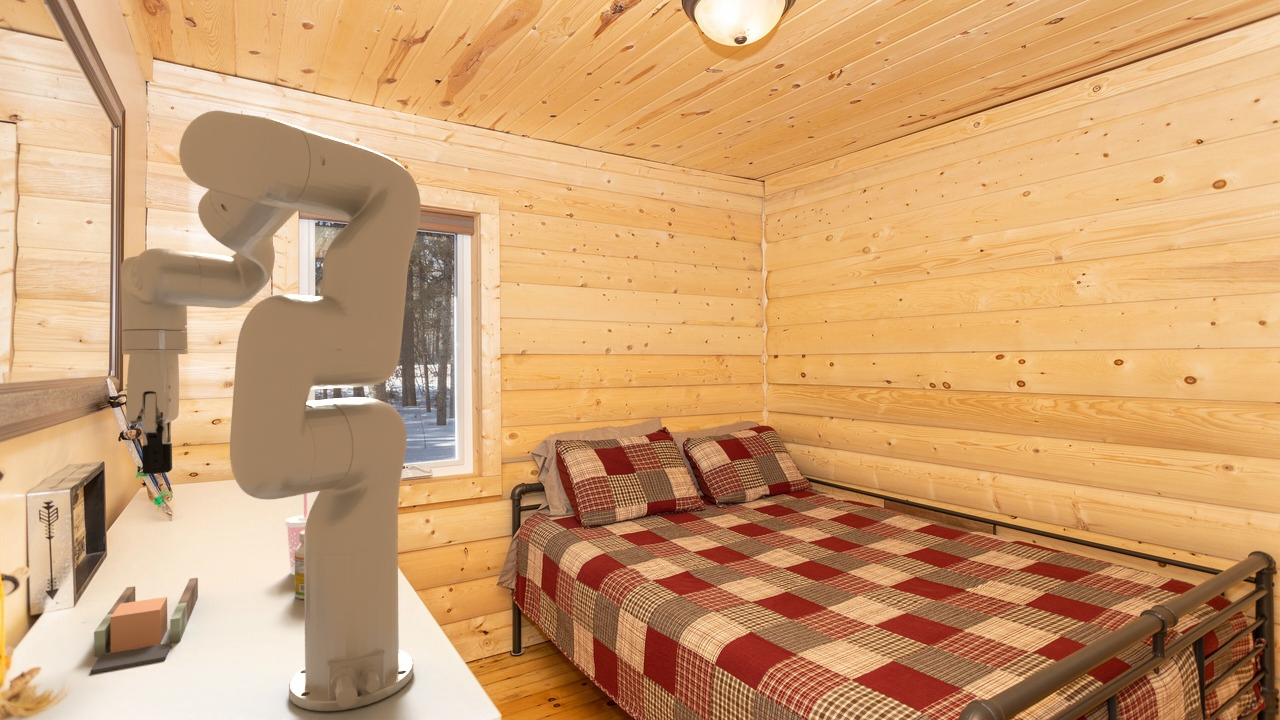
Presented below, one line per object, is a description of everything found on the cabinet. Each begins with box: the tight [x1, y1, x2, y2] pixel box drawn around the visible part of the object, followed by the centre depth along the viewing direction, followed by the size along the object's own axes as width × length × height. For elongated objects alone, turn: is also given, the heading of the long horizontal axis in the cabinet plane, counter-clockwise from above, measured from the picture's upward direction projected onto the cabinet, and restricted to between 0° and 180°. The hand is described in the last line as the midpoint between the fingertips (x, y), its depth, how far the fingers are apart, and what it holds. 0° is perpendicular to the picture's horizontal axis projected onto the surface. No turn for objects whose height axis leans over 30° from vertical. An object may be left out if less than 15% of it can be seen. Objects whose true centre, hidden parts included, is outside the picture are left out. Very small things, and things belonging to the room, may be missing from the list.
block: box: [110, 596, 168, 653], centre depth 84 cm, size 5×5×4 cm
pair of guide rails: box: [93, 577, 199, 657], centre depth 89 cm, size 18×9×3 cm, turn 28°
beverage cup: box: [284, 493, 309, 576], centre depth 111 cm, size 6×6×14 cm
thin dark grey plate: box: [89, 642, 172, 675], centre depth 78 cm, size 4×7×1 cm, turn 118°
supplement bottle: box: [294, 530, 305, 600], centre depth 100 cm, size 5×5×10 cm
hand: (157, 472), depth 93 cm, fingers closed
